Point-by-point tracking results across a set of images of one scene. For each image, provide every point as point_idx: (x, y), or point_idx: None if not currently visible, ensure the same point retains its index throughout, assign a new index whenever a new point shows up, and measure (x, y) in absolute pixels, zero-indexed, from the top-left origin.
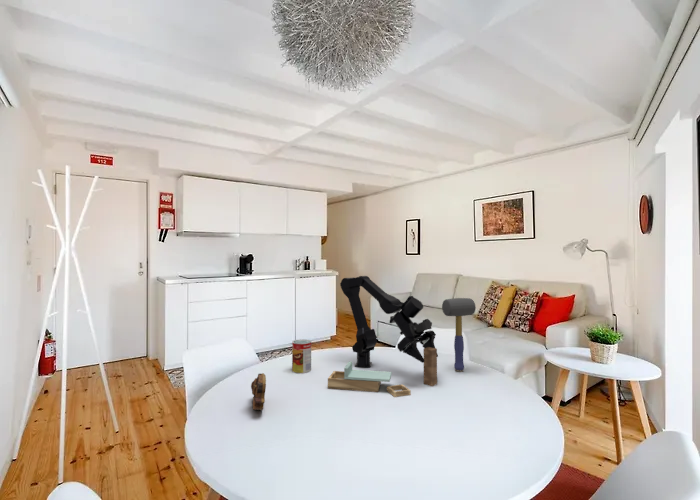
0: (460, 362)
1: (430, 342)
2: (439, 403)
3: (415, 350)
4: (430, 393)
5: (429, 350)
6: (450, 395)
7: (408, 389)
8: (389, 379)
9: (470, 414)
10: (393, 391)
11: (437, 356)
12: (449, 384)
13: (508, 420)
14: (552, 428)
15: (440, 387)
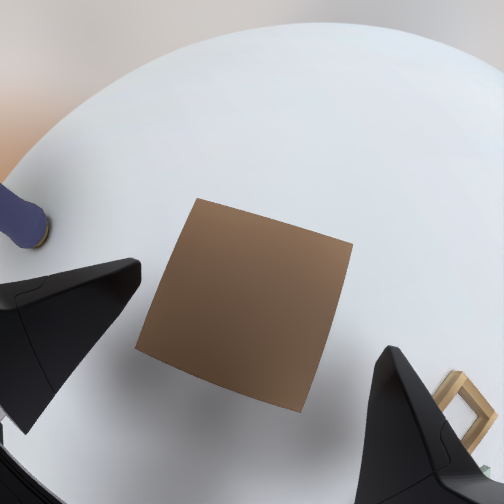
0: (25, 206)
1: (1, 326)
2: (466, 234)
3: (466, 460)
4: (399, 295)
5: (337, 291)
6: (374, 207)
7: (457, 385)
8: (487, 470)
9: (467, 142)
10: (491, 424)
11: (140, 262)
12: None
13: (430, 77)
14: (402, 33)
15: None
